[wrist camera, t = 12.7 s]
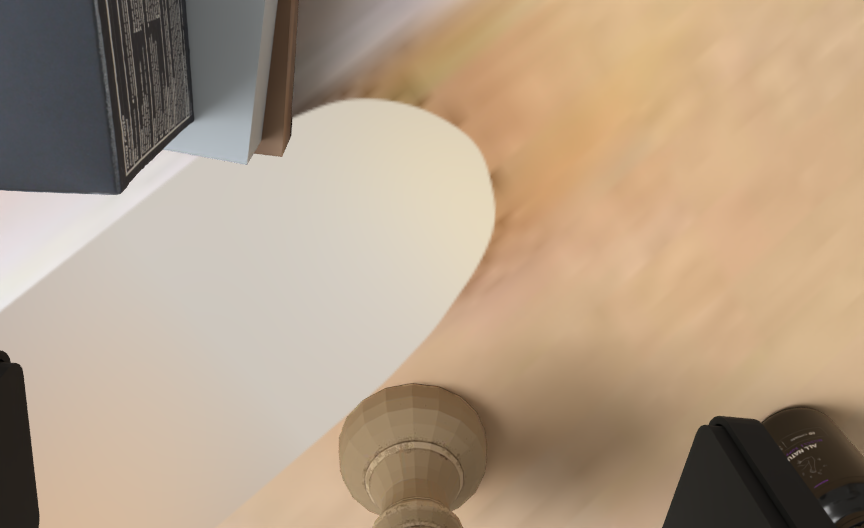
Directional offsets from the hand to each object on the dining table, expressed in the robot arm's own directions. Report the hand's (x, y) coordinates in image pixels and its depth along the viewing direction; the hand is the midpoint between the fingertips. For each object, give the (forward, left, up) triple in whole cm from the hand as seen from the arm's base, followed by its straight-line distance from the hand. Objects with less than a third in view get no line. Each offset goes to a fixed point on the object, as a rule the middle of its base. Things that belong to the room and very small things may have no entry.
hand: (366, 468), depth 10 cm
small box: (+12, -2, -28) cm, 30 cm away
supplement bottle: (-34, +25, -36) cm, 56 cm away
